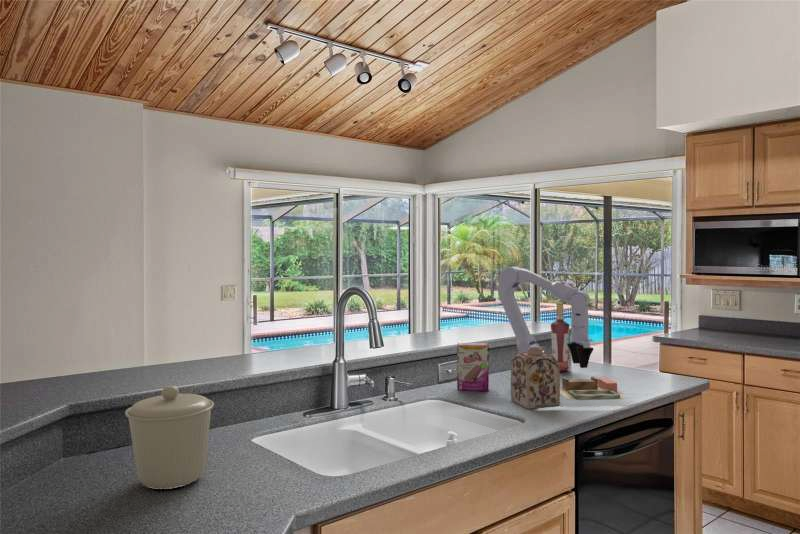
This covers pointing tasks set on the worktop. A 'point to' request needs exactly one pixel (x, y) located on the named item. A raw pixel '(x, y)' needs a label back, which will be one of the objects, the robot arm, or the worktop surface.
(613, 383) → the pink rectangular block
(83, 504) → the worktop surface
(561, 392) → the jig
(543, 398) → the decorative jar
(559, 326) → the liquor
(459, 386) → the candy bar box
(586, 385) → the brown u-shaped block
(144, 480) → the canister
